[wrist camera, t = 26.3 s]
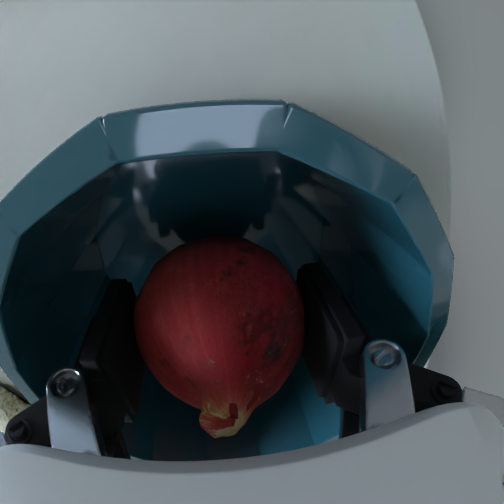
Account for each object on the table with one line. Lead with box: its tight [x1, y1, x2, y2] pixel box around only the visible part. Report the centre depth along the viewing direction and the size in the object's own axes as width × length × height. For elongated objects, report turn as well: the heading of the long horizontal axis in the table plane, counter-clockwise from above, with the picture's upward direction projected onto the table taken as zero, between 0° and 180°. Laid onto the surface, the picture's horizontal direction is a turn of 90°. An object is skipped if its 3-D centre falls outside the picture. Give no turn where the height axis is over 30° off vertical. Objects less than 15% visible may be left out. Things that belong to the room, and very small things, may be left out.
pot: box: [0, 99, 454, 461], centre depth 11 cm, size 14×14×10 cm
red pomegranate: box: [133, 236, 305, 438], centre depth 9 cm, size 6×6×8 cm
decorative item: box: [0, 387, 30, 433], centre depth 18 cm, size 12×9×10 cm
